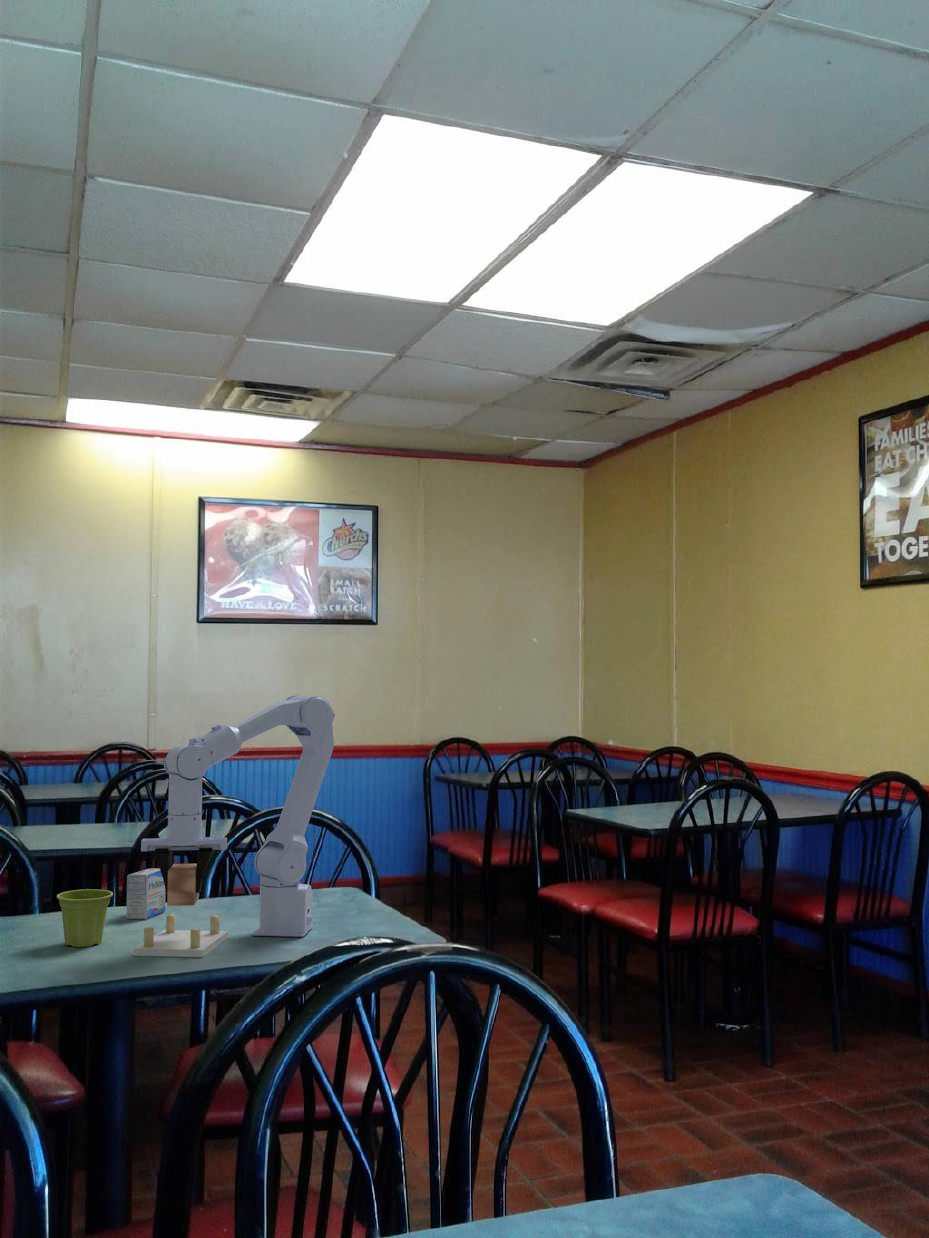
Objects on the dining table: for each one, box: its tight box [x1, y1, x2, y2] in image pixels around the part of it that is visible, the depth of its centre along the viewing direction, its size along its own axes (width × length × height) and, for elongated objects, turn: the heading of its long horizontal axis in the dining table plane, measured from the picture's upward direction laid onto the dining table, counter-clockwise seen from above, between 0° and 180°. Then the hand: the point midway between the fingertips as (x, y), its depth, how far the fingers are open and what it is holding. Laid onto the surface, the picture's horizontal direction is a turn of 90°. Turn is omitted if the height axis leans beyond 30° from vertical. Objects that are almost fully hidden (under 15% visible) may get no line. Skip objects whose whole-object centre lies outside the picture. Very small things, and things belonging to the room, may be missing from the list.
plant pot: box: [56, 888, 114, 948], centre depth 190 cm, size 9×9×9 cm
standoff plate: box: [133, 914, 229, 958], centre depth 187 cm, size 12×14×4 cm
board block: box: [166, 863, 200, 907], centre depth 188 cm, size 4×7×6 cm, turn 7°
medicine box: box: [126, 867, 166, 921], centre depth 213 cm, size 8×4×9 cm, turn 168°
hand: (183, 891), depth 188 cm, fingers closed on board block, 4 cm apart
